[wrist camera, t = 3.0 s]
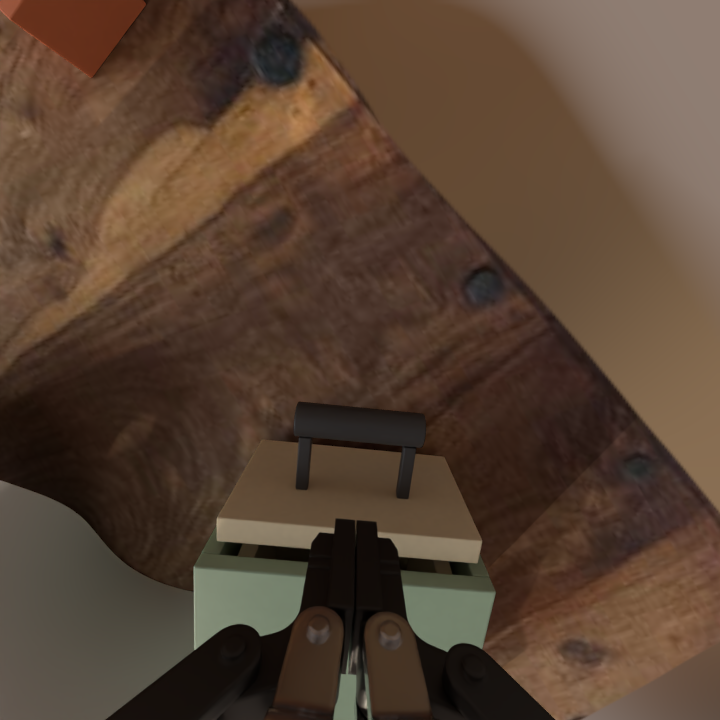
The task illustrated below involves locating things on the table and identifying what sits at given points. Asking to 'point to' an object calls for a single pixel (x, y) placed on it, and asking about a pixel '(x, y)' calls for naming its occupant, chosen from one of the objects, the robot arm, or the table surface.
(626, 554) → the table surface
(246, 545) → the drawer
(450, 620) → the cabinet
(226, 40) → the table surface
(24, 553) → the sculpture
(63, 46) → the block
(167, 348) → the table surface
